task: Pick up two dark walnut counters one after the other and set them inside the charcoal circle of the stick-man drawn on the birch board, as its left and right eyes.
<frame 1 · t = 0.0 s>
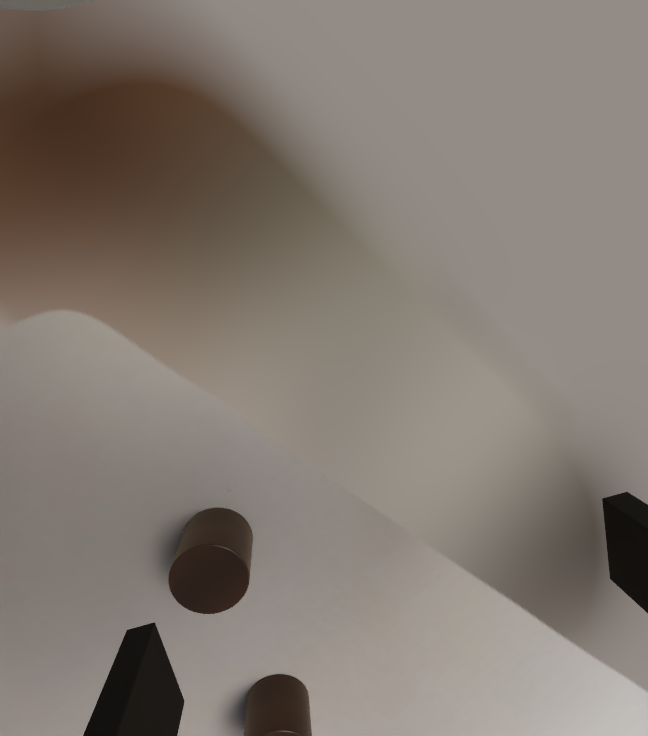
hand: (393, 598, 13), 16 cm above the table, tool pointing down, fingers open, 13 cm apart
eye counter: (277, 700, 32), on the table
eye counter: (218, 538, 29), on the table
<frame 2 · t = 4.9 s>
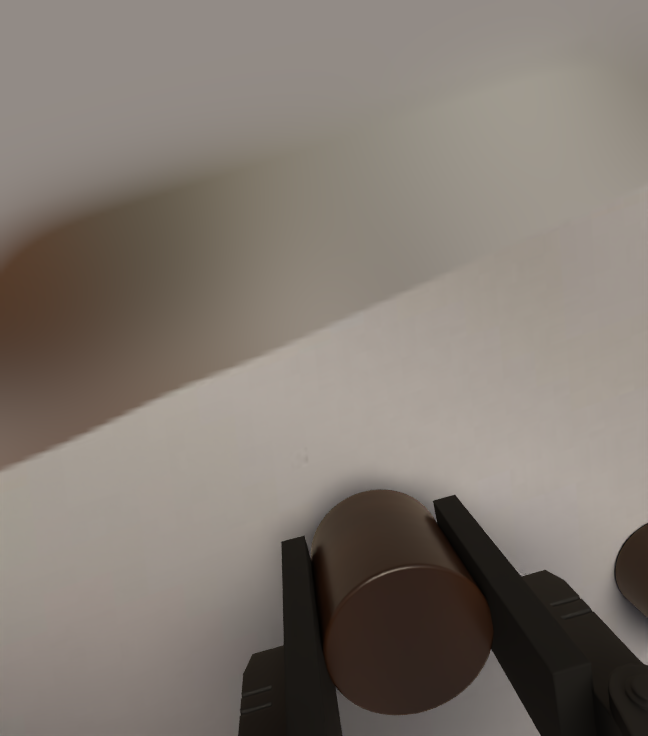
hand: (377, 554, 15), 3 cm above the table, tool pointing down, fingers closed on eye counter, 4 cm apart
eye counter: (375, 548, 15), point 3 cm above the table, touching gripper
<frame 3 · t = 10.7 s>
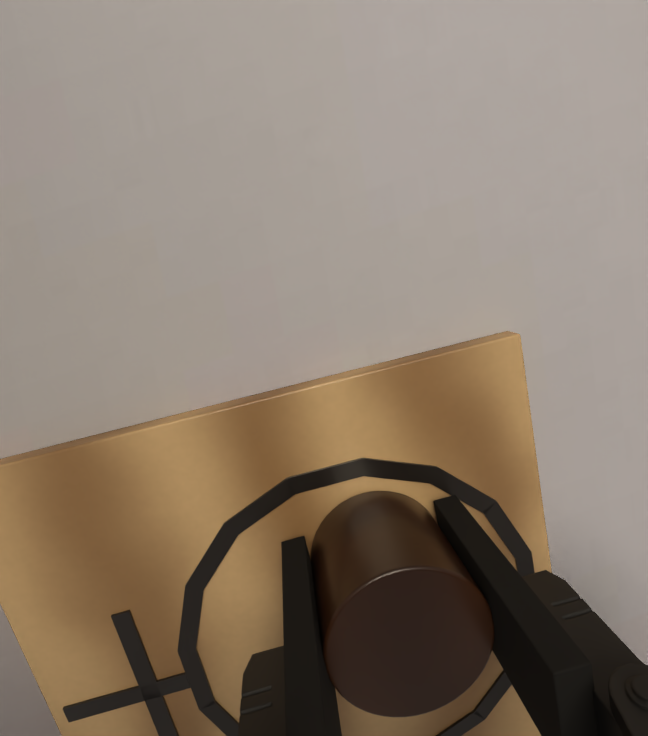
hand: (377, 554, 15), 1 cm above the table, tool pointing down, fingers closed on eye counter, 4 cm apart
drawing board: (308, 626, 16), on the table
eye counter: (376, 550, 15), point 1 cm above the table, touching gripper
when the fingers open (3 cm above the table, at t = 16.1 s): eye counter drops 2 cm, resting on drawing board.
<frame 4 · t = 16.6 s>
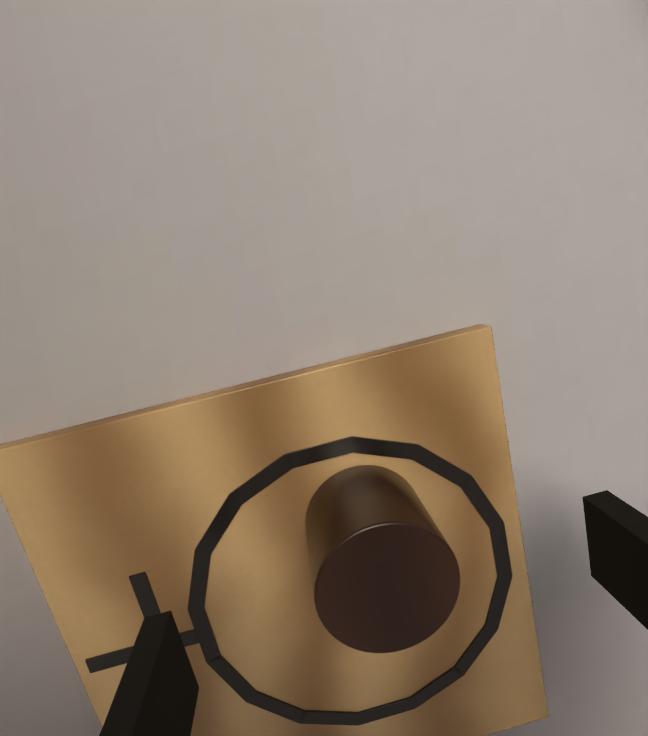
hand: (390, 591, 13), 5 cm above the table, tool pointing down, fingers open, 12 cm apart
drawing board: (304, 590, 18), on the table
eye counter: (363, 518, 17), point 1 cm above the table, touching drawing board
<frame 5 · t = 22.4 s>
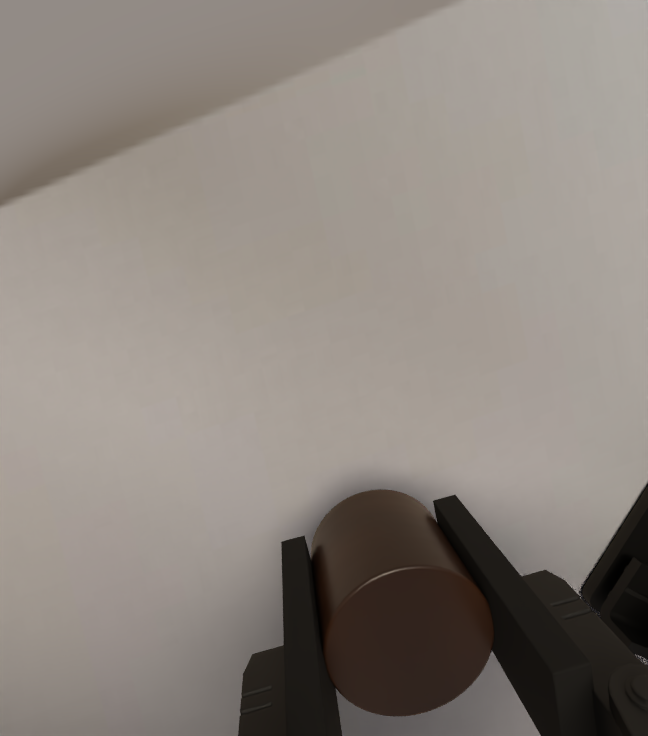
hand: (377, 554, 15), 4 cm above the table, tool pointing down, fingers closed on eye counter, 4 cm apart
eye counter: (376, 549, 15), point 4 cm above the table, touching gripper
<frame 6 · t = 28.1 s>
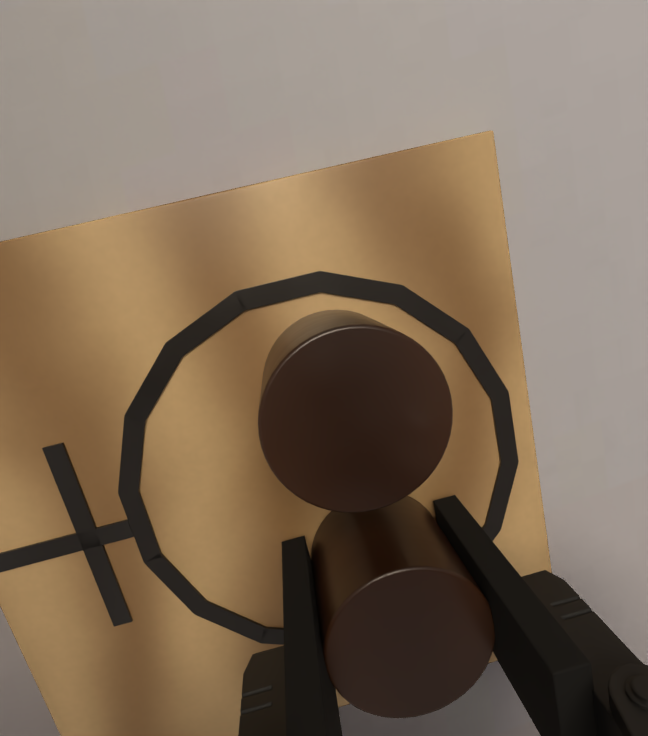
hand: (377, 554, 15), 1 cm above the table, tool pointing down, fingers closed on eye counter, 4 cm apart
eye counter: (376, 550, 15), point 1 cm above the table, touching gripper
drawing board: (266, 480, 15), on the table
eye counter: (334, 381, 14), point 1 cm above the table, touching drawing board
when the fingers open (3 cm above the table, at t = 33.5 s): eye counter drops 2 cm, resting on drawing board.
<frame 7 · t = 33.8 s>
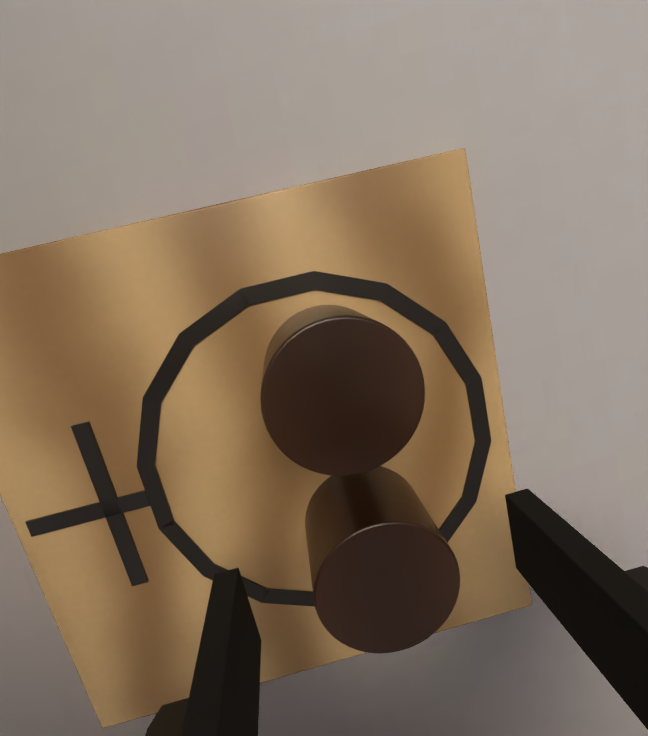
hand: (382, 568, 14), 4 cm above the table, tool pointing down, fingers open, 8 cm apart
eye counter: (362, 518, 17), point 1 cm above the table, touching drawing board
drawing board: (267, 457, 17), on the table
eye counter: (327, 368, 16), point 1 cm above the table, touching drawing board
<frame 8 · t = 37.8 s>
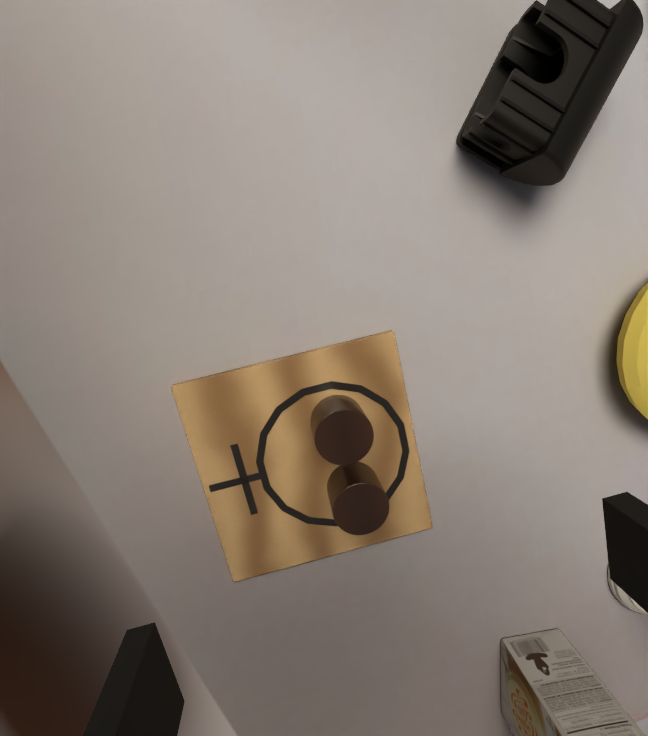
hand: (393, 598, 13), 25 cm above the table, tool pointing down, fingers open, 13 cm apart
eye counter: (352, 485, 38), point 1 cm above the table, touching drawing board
coffee box: (528, 667, 45), on the table
drawing board: (309, 458, 38), on the table
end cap: (519, 111, 34), on the table
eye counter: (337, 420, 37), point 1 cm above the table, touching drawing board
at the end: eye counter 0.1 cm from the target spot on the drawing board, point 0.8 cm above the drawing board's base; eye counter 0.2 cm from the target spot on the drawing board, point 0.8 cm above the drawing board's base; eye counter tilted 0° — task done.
